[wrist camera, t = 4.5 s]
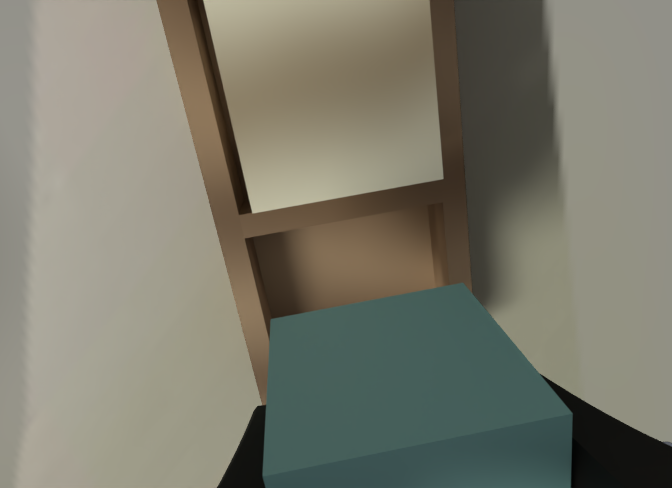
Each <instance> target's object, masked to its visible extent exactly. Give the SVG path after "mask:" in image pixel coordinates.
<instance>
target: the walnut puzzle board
mask: <svg viewBox="0 0 672 488" xmlns="http://www.w3.org/2000/svg"><path fill="white" fill-rule="evenodd" d="M157 4H158V8H159V12H160V16H161V19H162V23H163V27H164V31H165V35H166V39H167V42H168V46H169V50H170V54H171V58H172V61H173V65H174V69H175V73H176V77H177V81H178V84H179V88H180V92H181V96H182V100H183V103H184V107H185V111H186V115H187V119H188V123H189V126H190V130H191V134H192V138H193V142H194V146H195V149H196V153H197V157H198V161H199V165H200V168H201V172H202V176H203V180H204V184H205V188H206V191H207V195H208V199H209V203H210V207H211V210H212V214H213V218H214V222H215V226H216V230H217V233H218V237H219V241H220V245H221V249H222V253H223V256H224V260H225V264H226V268H227V272H228V275H229V279H230V283H231V287H232V291H233V295H234V298H235V302H236V306H237V310H238V314H239V317H240V321H241V325H242V329H243V333H244V337H245V340H246V344H247V348H248V352H249V356H250V360H251V363H252V367H253V371H254V375H255V379H256V382H257V386H258V390H259V394H260V398H261V402H262V405H266V399H267V380H268V360H269V341H270V322H271V319H274V318H279V317H285V316H290V315H295V314H300V313H306V312H311V311H316V310H321V309H327V308H332V307H337V306H343V305H348V304H353V303H358V302H364V301H369V300H374V299H379V298H385V297H390V296H395V295H400V294H406V293H411V292H416V291H421V290H427V289H432V288H437V287H443V286H448V285H453V284H458V283H464V284H465V285H466V287H467V288H468V289H469V290H470V291H471V293H472V281H471V265H470V249H469V233H468V217H467V201H466V185H465V169H464V153H463V137H462V122H461V106H460V90H459V74H458V58H457V42H456V26H455V10H454V0H157Z"/></svg>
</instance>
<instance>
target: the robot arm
mask: <svg viewBox="0 0 672 488" xmlns="http://www.w3.org/2000/svg"><path fill="white" fill-rule="evenodd" d="M540 375H541V374H540ZM541 376H542V377H543V379H544V380H545V381H546V382H547V383H548V385H549V386H550V387H551V388H552V389H553V391H554V392H555V393H556V394H557V395H558V397H559V398H560V399H561V400H562V401H563V403H564V404H565V405H566V406H567V407H568V409H569V410H570V411H571V412H572V413H573V419H572V460H571V488H672V443H670V442H661V441H659V440H657V439H654V438H652V437H650V436H648V435H646V434H643V433H642V432H640V431H638V430H636V429H634V428H632V427H630V426H628V425H626V424H624V423H623V422H621V421H619V420H617V419H615V418H613V417H611V416H609V415H608V414H606V413H604V412H602V411H600V410H599V409H597V408H595V407H593V406H591V405H590V404H588V403H586V402H585V401H583V400H581V399H580V398H578V397H576V396H575V395H573V394H571V393H570V392H568V391H566V390H565V389H563V388H562V387H560V386H558V385H557V384H555V383H554V382H552V381H550V380H549V379H547V378H546V377H544V376H543V375H541ZM265 418H266V405H261V406H257V407H256V409H255V410H254V412H253V414H252V417H251V419H250V422H249V424H248V426H247V429H246V431H245V433H244V435H243V438H242V440H241V442H240V444H239V446H238V448H237V450H236V452H235V454H234V456H233V458H232V460H231V462H230V464H229V466H228V468H227V470H226V472H225V474H224V476H223V478H222V480H221V482H220V483H219V485H218V487H217V488H266V487H265V484H264V480H263V477H262V476H263V457H264V438H265Z"/></svg>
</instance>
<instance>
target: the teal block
mask: <svg viewBox="0 0 672 488" xmlns="http://www.w3.org/2000/svg"><path fill="white" fill-rule="evenodd" d="M572 419H573V413H572V412H571V411H570V410H569V409H568V407H567V406H566V405H565V404H564V403H563V401H562V400H561V399H560V398H559V397H558V395H557V394H556V393H555V392H554V391H553V389H552V388H551V387H550V386H549V385H548V383H547V382H546V381H545V380H544V379H543V377H542V376H541V375H540V374H539V373H538V372H537V370H536V369H535V368H534V367H533V366H532V364H531V363H530V362H529V361H528V360H527V358H526V357H525V356H524V355H523V354H522V352H521V351H520V350H519V349H518V348H517V346H516V345H515V344H514V343H513V342H512V340H511V339H510V338H509V337H508V336H507V334H506V333H505V332H504V331H503V330H502V328H501V327H500V326H499V325H498V324H497V323H496V321H495V320H494V319H493V318H492V317H491V315H490V314H489V313H488V312H487V311H486V309H485V308H484V307H483V306H482V305H481V303H480V302H479V301H478V300H477V299H476V297H475V296H474V295H473V294H472V293H471V291H470V290H469V289H468V288H467V287H466V285H465V284H464V283H458V284H453V285H448V286H443V287H437V288H432V289H427V290H421V291H416V292H411V293H406V294H400V295H395V296H390V297H385V298H379V299H374V300H369V301H364V302H358V303H353V304H348V305H343V306H337V307H332V308H327V309H321V310H316V311H311V312H306V313H300V314H295V315H290V316H285V317H279V318H274V319H271V322H270V341H269V360H268V380H267V399H266V418H265V438H264V457H263V476H262V477H263V480H264V484H265V487H266V488H571V460H572Z"/></svg>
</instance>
